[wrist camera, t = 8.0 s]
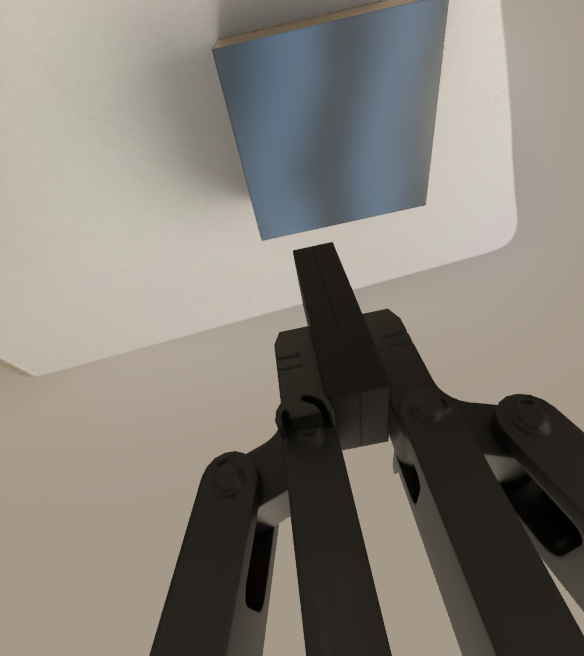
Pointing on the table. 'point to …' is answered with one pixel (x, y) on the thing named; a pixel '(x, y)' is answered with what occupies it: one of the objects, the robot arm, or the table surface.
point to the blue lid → (336, 115)
